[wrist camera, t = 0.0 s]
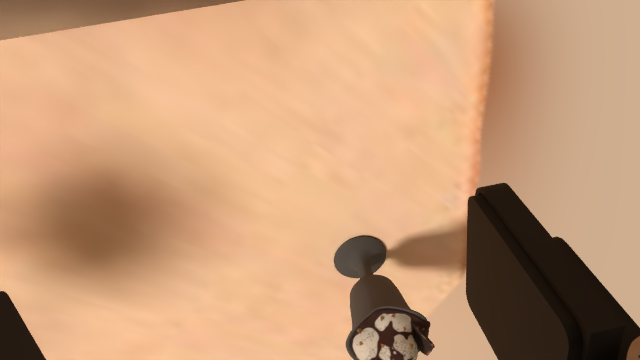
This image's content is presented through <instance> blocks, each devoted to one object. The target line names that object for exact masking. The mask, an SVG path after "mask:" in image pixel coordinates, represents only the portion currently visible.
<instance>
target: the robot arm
mask: <svg viewBox="0 0 640 360" xmlns="http://www.w3.org/2000/svg"><path fill="white" fill-rule="evenodd" d="M466 295H467V300H468V303H469V306H470V308H471V310H472V312H473V314H474V316H475V318H476V319H477V321H478V323H479V325H480V327H481V329H482V331H483V332H484V334H485V336H486V338H487V340H488V342H489V343H490V345H491V347H492V349H493V351H494V353H495V354H496V356H497V358H498V360H640V328H639V327H638V325H637V324H636V323H635V322H634V321H633V320H632V319H631V317H630V316H629V315H628V314H627V313H626V312H625V310H624V309H623V308H622V307H621V306H620V305H619V303H618V302H617V301H616V300H615V299H614V297H613V296H612V295H611V294H610V293H609V292H608V290H607V289H606V288H605V287H604V286H603V285H602V283H601V282H600V281H599V280H598V279H597V278H596V276H595V275H594V274H593V273H592V272H591V271H590V270H589V268H588V267H587V266H586V265H585V264H584V262H583V261H582V260H581V259H580V258H579V257H578V255H577V254H576V253H575V252H574V251H573V250H572V249H571V247H570V246H569V245H568V244H567V243H566V242H565V241H564V240H563V239H562V238H559V237H553V238H552V237H551V236H550V234H549V233H548V232H547V231H546V230H545V228H544V227H543V226H542V225H541V224H540V222H539V221H538V220H537V219H536V218H535V216H534V215H533V214H532V213H531V212H530V210H529V209H528V208H527V207H526V206H525V205H524V203H523V202H522V201H521V200H520V199H519V197H518V196H517V195H516V194H515V192H514V191H513V190H512V189H511V188H510V186H509V185H507V184H506V183H500V184H495V185H490V186H485V187H480V188H478V189H477V190H476V193H475V196H471V197H469V199H468V219H467V267H466ZM0 360H46V359H45V357H44V356H43V354H42V352H41V351H40V349H39V347H38V345H37V344H36V342H35V340H34V339H33V337H32V335H31V333H30V332H29V330H28V328H27V327H26V325H25V323H24V321H23V320H22V318H21V316H20V315H19V313H18V311H17V309H16V308H15V306H14V304H13V303H12V301H11V299H10V297H9V296H8V294H7V293H6V292H4V291H0Z"/></svg>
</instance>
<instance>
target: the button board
mask: <svg viewBox="0 0 640 360" xmlns="http://www.w3.org/2000/svg"><path fill="white" fill-rule="evenodd" d="M237 1H243V0H0V40H5V39H11V38H18V37H24V36H30V35H36V34H42V33H48V32H54V31H60V30H66V29H72V28H79V27H85V26H91V25H97V24H103V23H109V22H115V21H121V20H127V19H133V18H140V17H146V16H152V15H158V14H164V13H170V12H176V11H182V10H188V9H195V8H201V7H207V6H213V5H219V4H225V3H231V2H237Z"/></svg>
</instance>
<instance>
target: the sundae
mask: <svg viewBox="0 0 640 360" xmlns="http://www.w3.org/2000/svg"><path fill="white" fill-rule="evenodd" d="M385 257H386V250H385V247H384V245H383V244H382V243H381V242H380V241H379V240H377V239H375V238H373V237H369V236H359V237H355V238H352V239H350V240H348V241H346V242H345V243H343V244H342V245H341V246H340V247H339V249H338V250H337V252H336V253H335V257H334V264H335V267H336V269H337V270H338V271H339V272H340V273H341V274H342V275H344V276H347V277H350V278H360V280H359V281H358V282H357V283H356V284H355V285H354V286H353V288H352V290H351V292H350V309H351V317H352V331H351V332H350V334H349V336H348V338H347V340H346V348H347V351H348V353H349V354H350V356H351V357H352V358H353V359H354V360H416V359H417V354H418V352H419V351H421V352H422V353H424V354H425V355H429V353H430V352H431V351H432V349H433V348H434V344H433V343H432V342H431V341H430V340H429V338H428V332H429V327H430V322H429V321H427V319H426V318H425V317H424V316H423V315H422V314H420V313H418V312H416V311H414V310H411V309H410V307H409V306H408V305H407V303H406V302H405V300H404V298H403V297H402V295H401V293H400V292H399V290H398V289H397V287H396V286H395V285H394V284H393V282H392V281H391V280H390V279H388V278H387V277H385V276H381V275H373V273H374V272H376V271H377V270H378V269H379V268H380V267H381V265H382V264H383V262H384V260H385Z"/></svg>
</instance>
